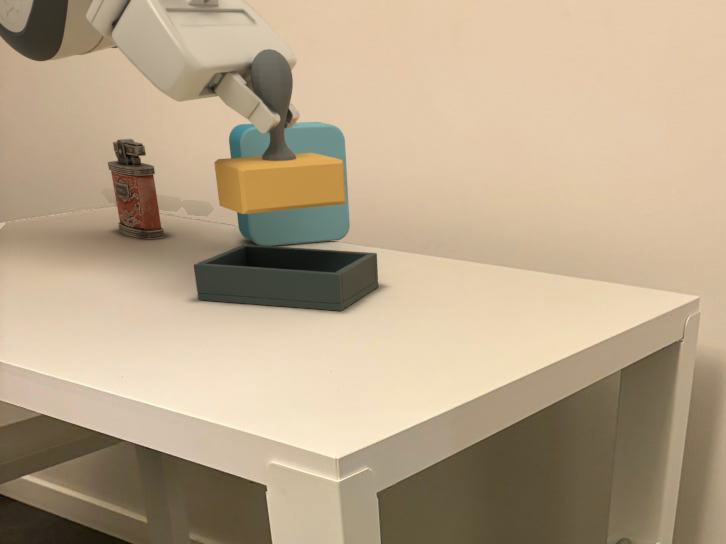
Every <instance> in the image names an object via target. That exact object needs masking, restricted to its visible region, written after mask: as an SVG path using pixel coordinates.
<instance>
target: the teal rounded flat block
mask: <svg viewBox="0 0 726 544" xmlns="http://www.w3.org/2000/svg"><path fill="white" fill-rule="evenodd" d="M284 138H285V142H286V144H287V147H288V148H289V149H290V150H291V151H292V152H293V153H294V154H301V153H315V154H319V155H324V156H328V157H332V158H337V159H340V160H343V167H344V184H345V200H346V203H344V204H341V205H331V206H320V207H310V208H300V209H290V210H280V211H269V212H259V213H249V214H241V213H239V212H236V215H237V224H238V230H239V232H240V234H241V235H242V237H244V238H245V239H247V240H248V241H249V242H252V243H254V244H256V245H259V246H274V247H278V246H285V245H286V246H287V245H289V246H290V245H299V244H309V243H312V244H313V243H320V242H321V243H324V242H334V241H340V240H342V239H344V238H345V237H346V236H347V235H348V233H349V230H350V227H351V225H350V223H351V221H350V207H349V205H350V203H349V190H348V189H349V187H348V171H347V152H346V138H345V135H344V133H343V131H342V130H341V129H340V128H339V127H338V126H337V125H334V124H330V123H326V122H321V121H299V122H298V121H296V123H295V124H294V125H293V127H291V128H287V129H284ZM269 144H270V133H269V132H268V133H264V134H262V133H260V132H259V131H258V130H257V129H256V128H255V126H254V125H253V124H252V123H241V124H238V125H236V126H234V127H233V128H232V129H231V130H230V133H229V136H228V145H229V152H230V153H229V154H230V158H242V157H257V156H262V155H263V154H264V152H265V151H266V150H267V148H268V147H269Z"/></svg>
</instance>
